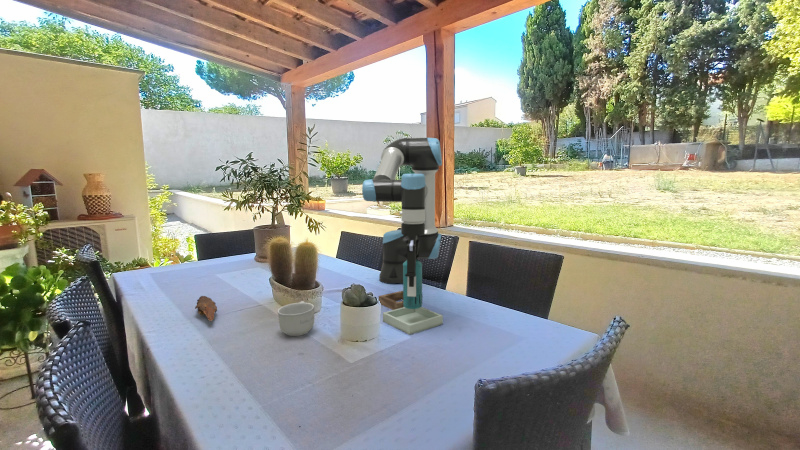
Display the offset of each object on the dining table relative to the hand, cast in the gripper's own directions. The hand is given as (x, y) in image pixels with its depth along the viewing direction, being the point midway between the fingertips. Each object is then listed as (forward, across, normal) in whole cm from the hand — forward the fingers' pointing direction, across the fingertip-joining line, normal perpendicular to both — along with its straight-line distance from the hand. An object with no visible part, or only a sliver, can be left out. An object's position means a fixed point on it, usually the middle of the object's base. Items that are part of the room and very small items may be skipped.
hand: (412, 292), depth 125 cm
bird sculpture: (+11, +3, -71) cm, 72 cm away
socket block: (+10, -18, -6) cm, 21 cm away
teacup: (+11, +10, -35) cm, 38 cm away
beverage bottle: (+6, 0, 0) cm, 6 cm away
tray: (+10, 0, 0) cm, 10 cm away
